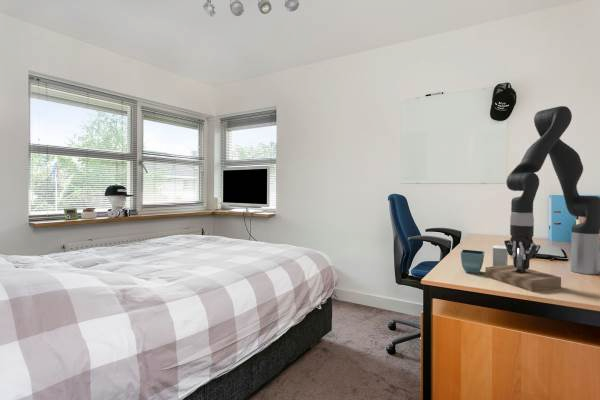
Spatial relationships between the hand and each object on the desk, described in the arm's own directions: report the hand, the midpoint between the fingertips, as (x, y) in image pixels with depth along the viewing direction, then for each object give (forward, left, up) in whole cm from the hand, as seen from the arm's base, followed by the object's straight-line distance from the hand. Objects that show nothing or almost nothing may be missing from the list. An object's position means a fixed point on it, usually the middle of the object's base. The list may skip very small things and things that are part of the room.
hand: (521, 267), depth 125 cm
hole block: (0, 0, -6) cm, 6 cm away
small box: (-8, -17, -6) cm, 20 cm away
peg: (0, 0, -4) cm, 4 cm away
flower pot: (+6, -18, -6) cm, 20 cm away
